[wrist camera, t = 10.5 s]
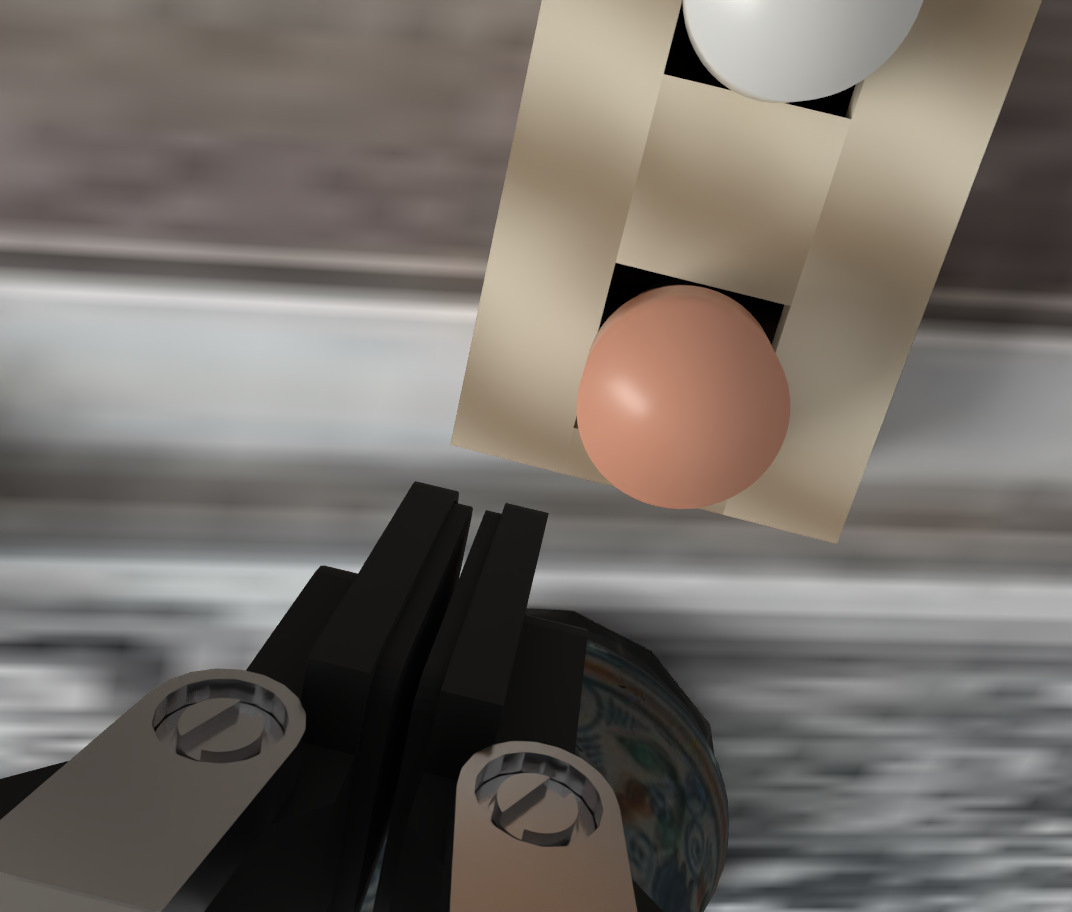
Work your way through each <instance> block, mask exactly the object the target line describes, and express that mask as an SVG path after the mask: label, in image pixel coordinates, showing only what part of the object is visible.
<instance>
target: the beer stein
mask: <svg viewBox="0 0 1072 912" xmlns="http://www.w3.org/2000/svg"><path fill="white" fill-rule="evenodd" d="M525 614H526V615H531V616H535V617H539V618H543V619H547V620H551V621H555V622H559V623H564V624H568V625H572V626H576V627H580V628H584V629H587V630H588V637H587V647H586V656H585V665H584V675H583V684H582V693H581V702H580V712H579V721H578V730H577V740H576V749H575V756H578V757H580V758H582V759H583V760H584V761H585V762H587V763H588V764H589V765H591V766H592V767H593V768H595V769H596V770H597V771H598V772H600V774H601V775H602V776H603V777H604V779H605V780H606V781H607V782H608V784H609V785H610V786H611V788H612V789H613V791H614V793H615V796H616V799H617V802H618V804H619V807H620V812H621V818H622V824H623V830H624V836H625V842H626V848H627V854H628V860H629V866H630V872H631V878H632V879H633V880H634V881H635V882H636V883H637V884H638V885H639V887H640V888H641V889H642V890H643V891H644V892H645V893H646V894H647V895H648V896H649V897H650V898H651V899H652V900H653V901H654V902H655V903H656V904H657V905H658V906H659V907H660V908H661V910H662V911H663V912H704V910H705V908H706V906H707V905H708V903H709V901H710V899H711V897H712V896H713V894H714V892H715V890H716V887H717V884H718V881H719V879H720V876H721V873H722V871H723V868H724V863H725V857H726V851H727V846H728V827H729V817H728V800H727V795H726V790H725V785H724V781H723V778H722V775H721V772H720V769H719V766H718V763H717V761H716V758H715V756H714V750H713V742H712V735H711V728H710V724H709V723H708V721H707V720H706V719H705V718H704V716H703V715H702V714H701V713H700V711H699V710H698V709H697V708H696V706H695V705H694V704H693V703H692V701H691V700H690V699H689V698H688V696H687V695H686V694H685V693H684V691H683V690H682V689H681V688H680V686H679V685H678V684H677V683H676V681H675V680H674V679H673V678H672V676H671V675H670V674H669V673H668V671H667V670H666V669H665V668H664V666H663V665H662V664H661V663H660V661H659V660H658V659H657V658H656V656H655V655H654V654H653V653H652V651H650V650H648V649H646V648H644V647H642V646H640V645H638V644H636V643H634V642H632V641H630V640H628V639H626V638H624V637H622V636H620V635H619V634H617V633H615V632H613V631H611V630H609V629H607V628H605V627H603V626H601V625H599V624H597V623H595V622H593V621H591V620H589V619H587V618H585V617H583V616H581V615H579V614H577V613H576V612H574V611H564V610H545V609H527V608H526V612H525ZM386 840H387V837H386ZM386 840H385V843H384V846H383V849H382V852H381V854H380V857H379V860H378V863H377V866H376V869H375V872H374V874H373V877H372V880H371V883H370V886H369V889H368V891H367V894H366V897H365V900H364V903H363V906H362V908H361V911H360V912H373V907H374V901H375V896H376V891H377V886H378V881H379V876H380V871H381V866H382V861H383V856H384V850H385V845H386Z"/></svg>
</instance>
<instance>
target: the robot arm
mask: <svg viewBox="0 0 1072 912" xmlns="http://www.w3.org/2000/svg"><path fill="white" fill-rule="evenodd" d="M458 498H459V492H458V491H454V490H450V489H445V488H441V487H437V486H433V485H429V484H424V483H420V482H416V481H415V482H414V483H413V485H412V486H411V488H410V490H409V491H408V493H407V495H406V496H405V498H404V499H403V501H402V503H401V504H400V506H399V508H398V509H397V511H396V513H395V514H394V516H393V517H392V519H391V521H390V522H389V524H388V526H387V527H386V529H385V531H384V532H383V534H382V536H381V537H380V539H379V540H378V542H377V544H376V545H375V547H374V549H373V550H372V552H371V554H370V555H369V557H368V558H367V560H366V562H365V563H364V565H363V567H362V568H361V570H360V572H359V573H358V574H357V573H353V572H349V571H345V570H341V569H336V568H332V567H328V566H320V567H319V568H318V569H317V571H316V572H315V573H314V574H313V576H312V577H311V579H310V580H309V582H308V583H307V584H306V586H305V587H304V589H303V590H302V592H301V593H300V594H299V596H298V597H297V599H296V600H295V602H294V603H293V604H292V606H291V607H290V609H289V610H288V611H287V613H286V614H285V616H284V617H283V619H282V620H281V621H280V623H279V624H278V626H277V627H276V629H275V630H274V631H273V633H272V634H271V636H270V637H269V638H268V640H267V641H266V643H265V644H264V646H263V647H262V648H261V650H260V651H259V653H258V654H257V656H256V657H255V658H254V660H253V661H252V663H251V664H250V665H249V667H248V668H247V670H246V671H245V670H236V669H210V670H202V671H195V672H190V673H187V674H184V675H181V676H178V677H175V678H172V679H169V680H167V681H166V682H164V683H163V684H161V685H159V686H158V687H156V688H155V689H153V690H152V691H150V692H149V693H148V694H146V695H145V696H144V697H143V698H142V699H141V700H139V701H138V702H137V703H136V704H135V705H134V706H132V707H131V708H130V709H129V710H128V711H127V712H125V713H124V714H123V715H122V716H121V717H120V718H118V719H117V720H116V721H115V722H114V723H113V724H111V725H110V726H109V727H108V728H107V729H106V730H104V731H103V732H102V733H101V734H100V735H99V736H98V737H96V738H95V739H94V740H93V741H92V742H91V743H89V744H88V745H87V746H86V747H85V748H84V749H82V750H81V751H80V752H79V753H78V754H77V755H75V756H74V757H73V758H72V759H71V760H70V761H66V762H63V763H59V764H55V765H51V766H48V767H44V768H40V769H36V770H33V771H29V772H25V773H21V774H18V775H14V776H10V777H6V778H3V779H0V912H360V911H361V908H362V906H363V903H364V900H365V897H366V894H367V891H368V889H369V886H370V883H371V880H372V877H373V874H374V872H375V869H376V866H377V863H378V860H379V857H380V854H381V852H382V849H383V846H384V843H385V840H386V837H387V840H386V845H385V850H384V856H383V861H382V866H381V871H380V876H379V881H378V886H377V891H376V896H375V901H374V907H373V912H663V911H662V910H661V908H660V907H659V906H658V905H657V904H656V903H655V902H654V901H653V900H652V899H651V898H650V897H649V896H648V895H647V894H646V893H645V892H644V891H643V890H642V889H641V888H640V887H639V885H638V884H637V883H636V882H635V881H634V880H633V879H632V878H631V872H630V866H629V860H628V854H627V848H626V842H625V836H624V830H623V824H622V818H621V812H620V807H619V804H618V802H617V799H616V796H615V793H614V791H613V789H612V788H611V786H610V785H609V784H608V782H607V781H606V780H605V779H604V777H603V776H602V775H601V774H600V772H598V771H597V770H596V769H595V768H593V767H592V766H591V765H589V764H588V763H587V762H585V761H584V760H583V759H582V758H580V757H578V756H575V749H576V740H577V730H578V721H579V712H580V702H581V693H582V684H583V675H584V665H585V656H586V647H587V637H588V630H587V629H584V628H580V627H576V626H572V625H568V624H564V623H559V622H555V621H551V620H547V619H543V618H539V617H535V616H531V615H526V614H525V612H526V607H527V603H528V599H529V595H530V590H531V586H532V582H533V578H534V573H535V569H536V565H537V560H538V556H539V552H540V548H541V543H542V539H543V535H544V531H545V526H546V522H547V518H548V514H549V513H546V512H542V511H537V510H533V509H529V508H525V507H521V506H516V505H512V504H508V503H506V504H505V506H504V509H503V512H502V514H500V513H496V512H491V511H487V510H486V511H485V514H484V516H483V519H482V521H481V524H480V526H479V529H478V532H477V534H476V537H475V539H474V542H473V544H472V547H471V549H470V552H469V555H468V557H467V560H466V562H465V565H464V567H463V570H462V572H461V575H460V571H461V566H462V561H463V556H464V551H465V546H466V542H467V537H468V532H469V527H470V522H471V517H472V510H473V507H471V506H466V505H462V504H458ZM459 576H460V578H459Z"/></svg>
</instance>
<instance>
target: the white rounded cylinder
mask: <svg viewBox="0 0 1072 912" xmlns="http://www.w3.org/2000/svg"><path fill="white" fill-rule="evenodd" d="M922 3H923V0H683V14H684V20H685V25H686V29H687V32H688V36H689V39H690V41H691V44H692V46H693V48H694V50H695V52H696V54H697V56H698V57H699V59H700V60H701V62H702V64H703V65H704V66H705V67H706V69H707V70H708V71H709V72H710V73H711V75H713V76H714V77H715V78H716V79H717V80H718V81H719V82H720V83H721V84H723V85H724V86H726V87H727V88H729V89H730V90H732V91H734V92H736V93H738V94H740V95H742V96H744V97H747V98H750V99H754V100H757V101H763V102H769V103H789V102H798V101H806V100H813V99H818V98H822V97H826V96H831V95H833V94H836V93H838V92H841V91H843V90H846V89H848V88H850V87H852V86H853V85H855V84H857V83H859V82H861V81H862V80H864V79H865V78H866V77H868V76H869V75H871V74H872V73H873V72H875V71H876V70H877V69H878V68H879V67H880V66H881V65H882V64H884V63H885V62H886V61H887V60H888V59H889V58H890V56H891V55H892V54H893V53H894V52H895V51H896V50H897V48H898V47H899V46H900V44H901V43H902V42H903V40H904V39H905V37H906V36H907V34H908V33H909V31H910V29H911V27H912V25H913V24H914V22H915V20H916V18H917V16H918V13H919V11H920V8H921V6H922Z"/></svg>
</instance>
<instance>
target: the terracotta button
mask: <svg viewBox="0 0 1072 912" xmlns="http://www.w3.org/2000/svg"><path fill="white" fill-rule="evenodd" d="M576 413H577V424H578V428H579V433H580V437H581V440H582V442H583V445H584V448H585V450H586V452H587V454H588V455H589V457H590V459H591V461H592V462H593V464H594V465H595V466H596V468H597V469H598V471H599V472H600V473H601V474H602V475H603V476H604V477H605V478H606V479H607V480H608V481H609V482H610V483H611V484H613V485H614V486H615V487H616V488H618V489H619V490H621V491H622V492H624V493H625V494H627V495H629V496H631V497H633V498H635V499H637V500H639V501H641V502H645V503H648V504H651V505H654V506H659V507H664V508H673V509H692V508H699V507H705V506H709V505H713V504H716V503H720V502H722V501H724V500H727V499H729V498H731V497H733V496H735V495H737V494H739V493H740V492H742V491H744V490H745V489H747V488H748V487H749V486H750V485H752V484H753V483H754V482H756V481H757V480H758V479H759V478H760V477H761V476H762V475H763V474H764V473H765V471H766V470H767V469H768V468H769V466H770V465H771V464H772V462H773V461H774V459H775V458H776V456H777V454H778V453H779V451H780V449H781V446H782V444H783V442H784V439H785V437H786V433H787V429H788V425H789V419H790V393H789V387H788V382H787V379H786V376H785V373H784V370H783V368H782V366H781V364H780V361H779V359H778V357H777V355H776V353H775V351H774V349H773V347H772V345H771V344H770V342H769V340H768V338H767V336H766V334H765V332H764V330H763V329H762V327H761V326H760V324H759V323H758V321H757V320H756V319H755V318H754V317H753V316H752V314H751V313H750V312H749V311H747V310H746V309H745V308H744V307H743V306H742V305H741V304H739V303H738V302H736V301H734V300H733V299H731V298H730V297H728V296H726V295H724V294H722V293H719V292H717V291H714V290H711V289H707V288H705V287H703V286H701V285H699V284H697V283H694V282H691V281H686V280H668V281H663V282H660V283H657V284H654V285H652V286H650V287H648V288H647V289H645V290H644V291H642V292H641V293H640V294H639V295H638V296H636V297H634V298H632V299H631V300H629V301H628V302H626V303H625V304H623V305H622V306H621V307H619V308H618V309H617V310H616V311H615V312H614V313H613V314H612V315H611V316H610V317H609V318H608V319H607V320H606V322H605V323H604V324H603V325H602V327H601V328H600V330H599V331H598V333H597V335H596V337H595V339H594V341H593V343H592V345H591V348H590V351H589V354H588V357H587V361H586V364H585V367H584V371H583V374H582V378H581V381H580V384H579V390H578V395H577V408H576Z"/></svg>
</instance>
